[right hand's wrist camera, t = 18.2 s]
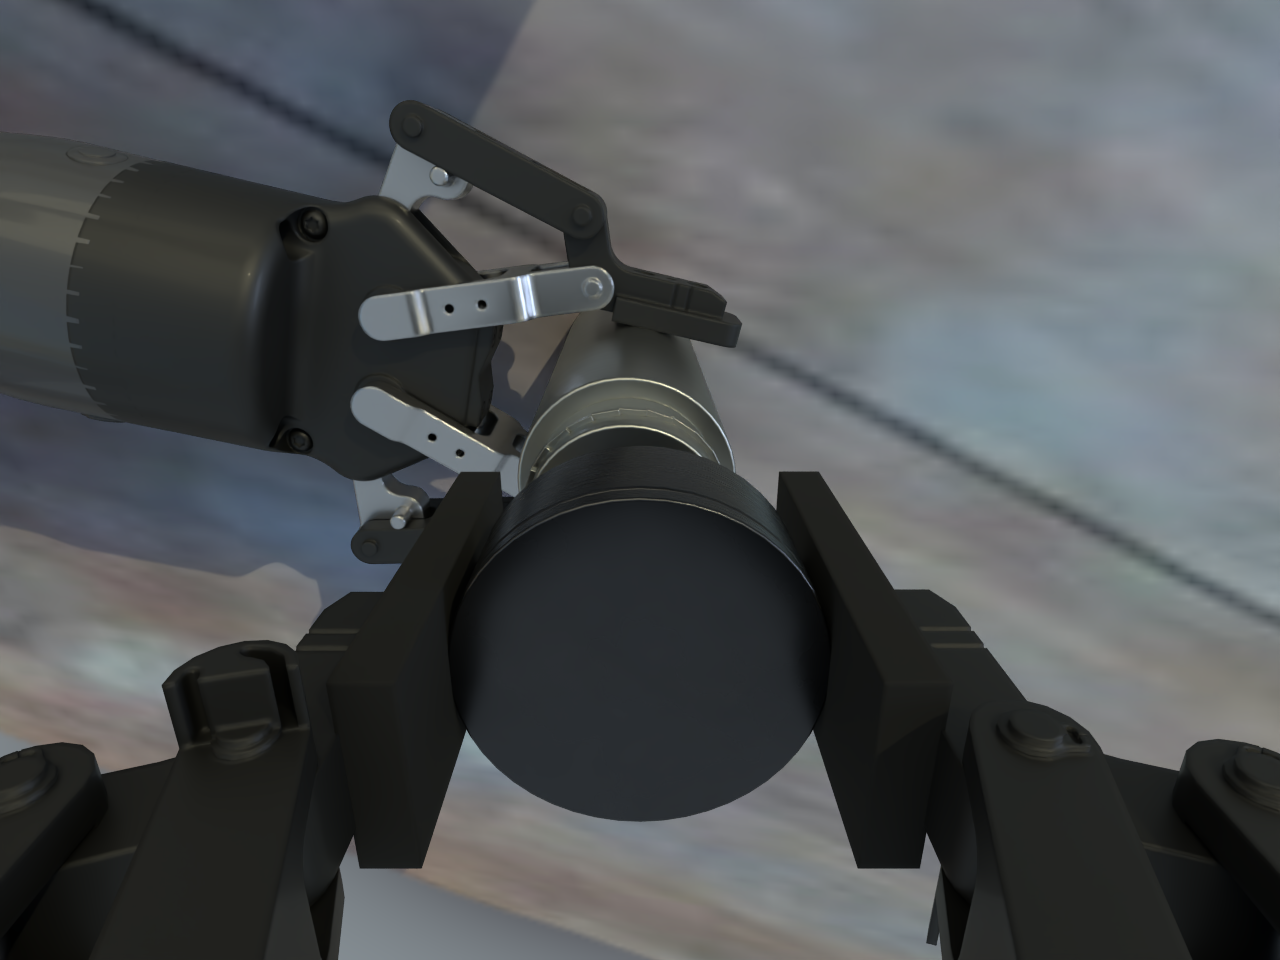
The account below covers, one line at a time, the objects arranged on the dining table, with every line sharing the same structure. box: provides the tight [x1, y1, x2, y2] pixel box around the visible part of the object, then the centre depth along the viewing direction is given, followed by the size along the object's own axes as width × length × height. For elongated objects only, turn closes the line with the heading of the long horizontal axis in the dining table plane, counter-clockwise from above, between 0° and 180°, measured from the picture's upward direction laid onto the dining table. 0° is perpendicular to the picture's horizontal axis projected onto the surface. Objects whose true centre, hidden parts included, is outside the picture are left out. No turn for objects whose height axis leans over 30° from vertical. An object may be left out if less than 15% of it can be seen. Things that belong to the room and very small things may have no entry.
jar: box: [517, 309, 736, 492], centre depth 22 cm, size 5×5×15 cm
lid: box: [448, 446, 831, 822], centre depth 11 cm, size 5×5×2 cm
